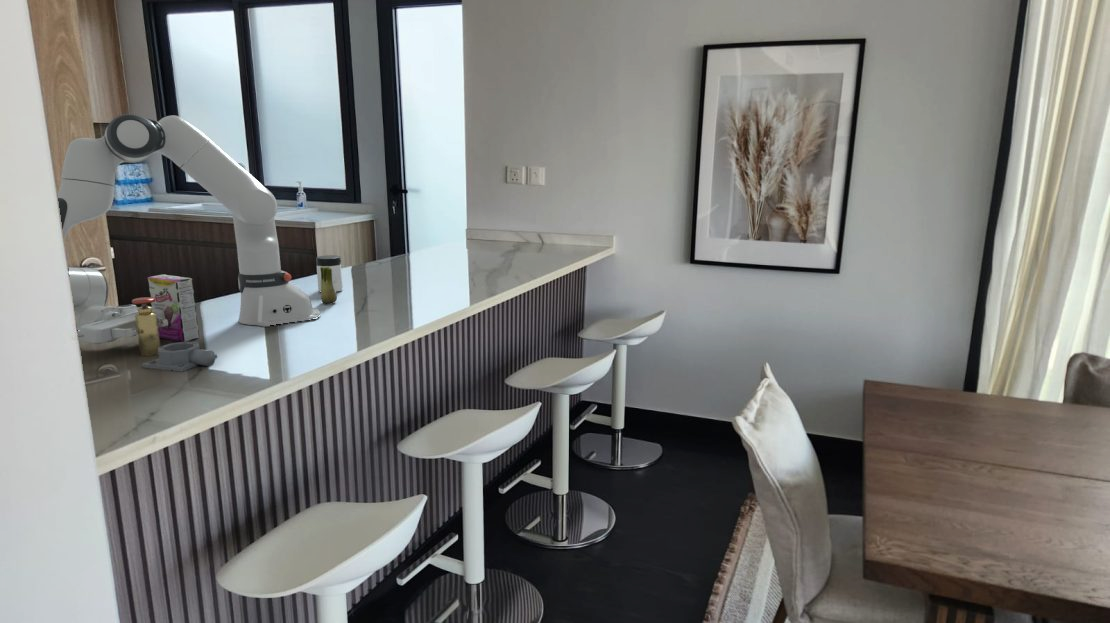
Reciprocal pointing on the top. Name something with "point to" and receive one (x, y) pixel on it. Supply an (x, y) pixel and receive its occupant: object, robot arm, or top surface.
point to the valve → (147, 327)
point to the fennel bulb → (327, 286)
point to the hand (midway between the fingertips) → (150, 328)
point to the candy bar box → (175, 306)
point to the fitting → (181, 357)
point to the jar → (335, 265)
